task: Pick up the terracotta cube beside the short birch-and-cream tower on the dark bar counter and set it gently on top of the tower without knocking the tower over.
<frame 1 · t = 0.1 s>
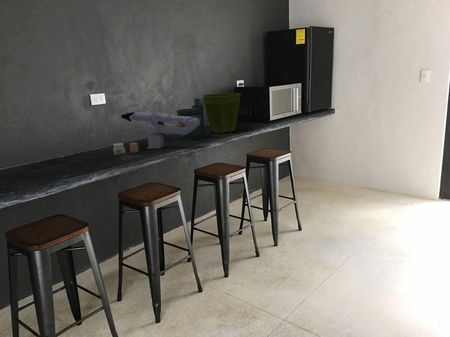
hand: (124, 115, 250), 22 cm above the worktop, tool horizontal, fingers open, 7 cm apart
donation box: (191, 138, 276), on the worktop
tower top: (119, 148, 239), point 3 cm above the worktop, touching tower base
tower base: (119, 153, 240), on the worktop, touching tower top
plant pot: (223, 131, 298), on the worktop
terracotta cube: (134, 151, 243), on the worktop
coffee box: (159, 141, 273), on the worktop
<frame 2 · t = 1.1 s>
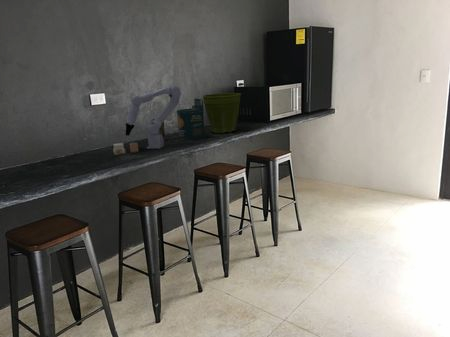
hand: (127, 135, 242), 10 cm above the worktop, tool tilted 20°, fingers open, 7 cm apart
nothing on the worktop moved.
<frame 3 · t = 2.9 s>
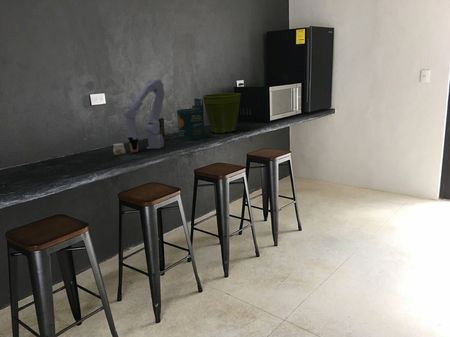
hand: (134, 148, 242), 1 cm above the worktop, tool pointing down, fingers closed on terracotta cube, 4 cm apart
terracotta cube: (134, 151, 243), on the worktop, touching gripper
everything else where it was.
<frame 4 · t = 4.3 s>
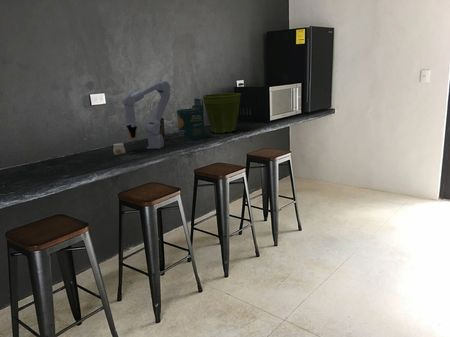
hand: (132, 136, 240), 9 cm above the worktop, tool pointing down, fingers closed on terracotta cube, 4 cm apart
tower top: (119, 148, 238), point 3 cm above the worktop
tower base: (119, 153, 239), on the worktop
terracotta cube: (132, 139, 241), point 8 cm above the worktop, touching gripper
everything else where it was.
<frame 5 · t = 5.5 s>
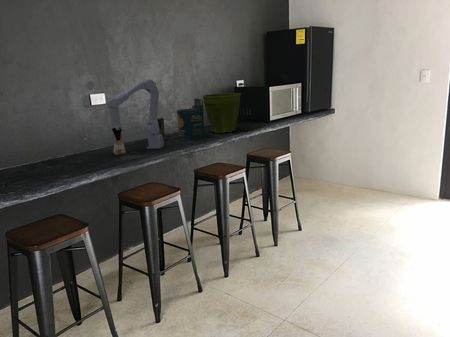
hand: (117, 139, 237), 8 cm above the worktop, tool pointing down, fingers closed on terracotta cube, 4 cm apart
tower top: (119, 148, 239), point 3 cm above the worktop, touching tower base
tower base: (119, 153, 240), on the worktop, touching tower top
terracotta cube: (118, 142, 238), point 7 cm above the worktop, touching gripper
everything else where it was.
when the fingers open (8 cm above the worktop, at t = 5.8 s): terracotta cube moves 1 cm, resting on tower top.
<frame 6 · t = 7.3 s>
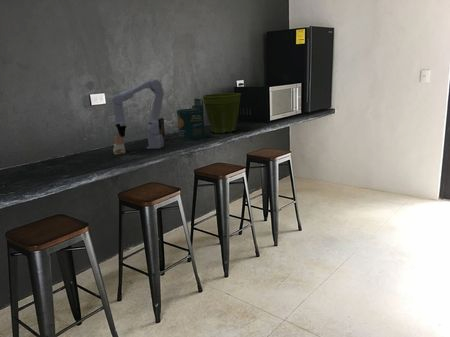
hand: (122, 135, 239), 10 cm above the worktop, tool pointing down, fingers open, 7 cm apart
tower top: (119, 148, 239), point 3 cm above the worktop, touching terracotta cube
tower base: (119, 153, 240), on the worktop
terracotta cube: (119, 143, 238), point 6 cm above the worktop, touching gripper, tower top
everything else where it was.
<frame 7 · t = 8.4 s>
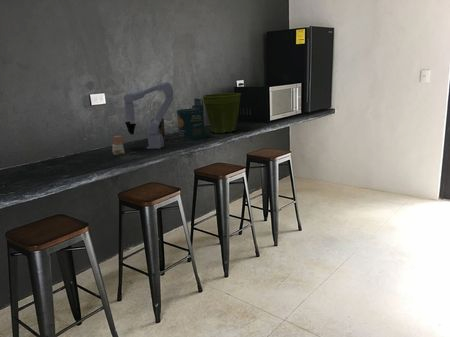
hand: (131, 133, 246), 10 cm above the worktop, tool pointing down, fingers open, 7 cm apart
tower top: (118, 149, 238), point 3 cm above the worktop, touching terracotta cube, tower base
tower base: (118, 153, 239), on the worktop, touching tower top
terracotta cube: (118, 144, 238), point 6 cm above the worktop, touching tower top
everything else where it was.
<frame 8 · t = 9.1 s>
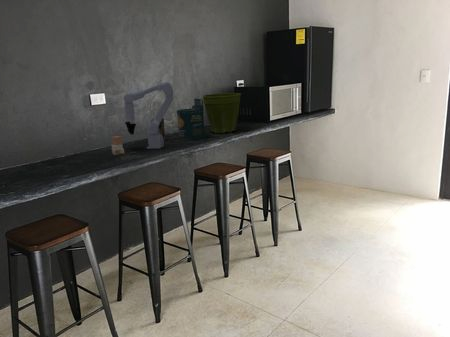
hand: (131, 133, 246), 10 cm above the worktop, tool pointing down, fingers open, 7 cm apart
nothing on the worktop moved.
at the end: terracotta cube 0.2 cm off-centre on the tower base, point 6.0 cm above the tower base's base; tower top 0.7 cm off-centre on the tower base, point 3.0 cm above the tower base's base; tower base moved 1.0 cm from its start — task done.
